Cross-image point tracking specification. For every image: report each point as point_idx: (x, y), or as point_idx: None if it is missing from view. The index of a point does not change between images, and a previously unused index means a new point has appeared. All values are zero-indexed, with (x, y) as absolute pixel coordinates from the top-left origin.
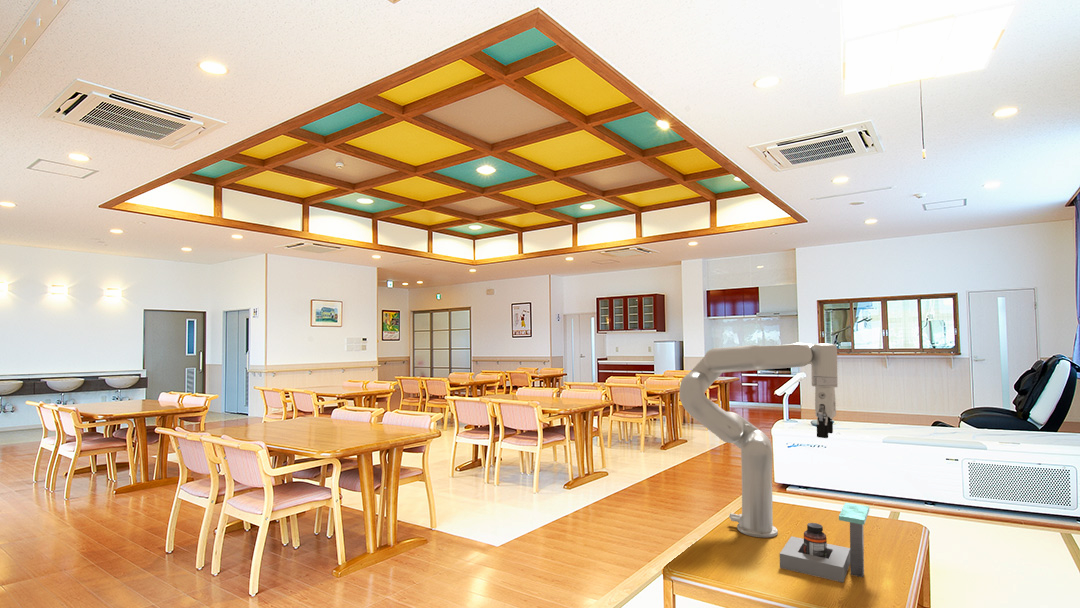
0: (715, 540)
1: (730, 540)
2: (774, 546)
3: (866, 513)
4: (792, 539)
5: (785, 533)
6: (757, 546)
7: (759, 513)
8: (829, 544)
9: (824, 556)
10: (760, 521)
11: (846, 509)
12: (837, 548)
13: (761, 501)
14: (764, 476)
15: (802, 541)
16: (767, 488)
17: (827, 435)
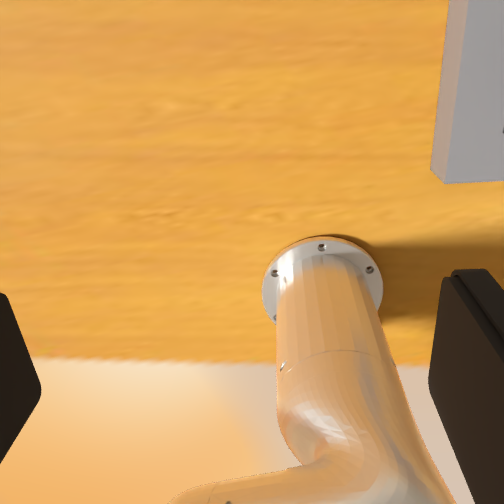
0: None
1: None
2: (428, 217)
3: None
4: (478, 172)
5: (285, 219)
6: (455, 255)
7: (377, 313)
8: (467, 45)
9: None
10: (370, 295)
11: None
12: (502, 7)
13: (383, 335)
14: (402, 403)
15: (482, 139)
16: (375, 354)
17: (495, 292)
